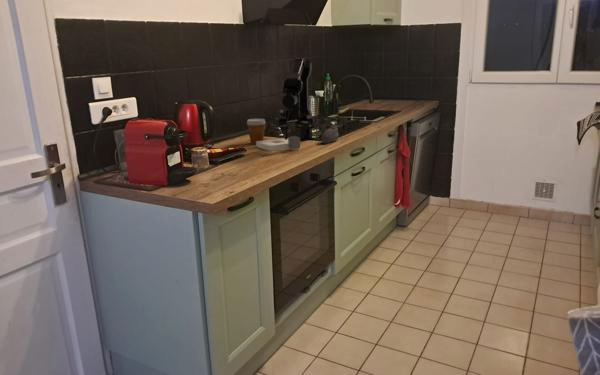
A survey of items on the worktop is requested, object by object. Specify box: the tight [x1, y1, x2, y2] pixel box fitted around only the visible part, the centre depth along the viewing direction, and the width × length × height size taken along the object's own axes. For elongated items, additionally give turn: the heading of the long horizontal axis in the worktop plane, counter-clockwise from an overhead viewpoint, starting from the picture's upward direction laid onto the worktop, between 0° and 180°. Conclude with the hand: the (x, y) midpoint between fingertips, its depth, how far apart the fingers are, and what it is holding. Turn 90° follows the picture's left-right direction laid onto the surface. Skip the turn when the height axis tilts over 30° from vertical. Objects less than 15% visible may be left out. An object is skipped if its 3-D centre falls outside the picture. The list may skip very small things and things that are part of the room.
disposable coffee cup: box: [246, 118, 266, 146], centre depth 247 cm, size 10×10×12 cm
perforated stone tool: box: [320, 126, 340, 144], centre depth 248 cm, size 15×5×7 cm, turn 146°
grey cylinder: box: [287, 135, 301, 151], centre depth 231 cm, size 4×4×6 cm
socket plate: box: [255, 137, 290, 152], centre depth 239 cm, size 16×14×3 cm
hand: (294, 138), depth 231 cm, fingers open, 9 cm apart
